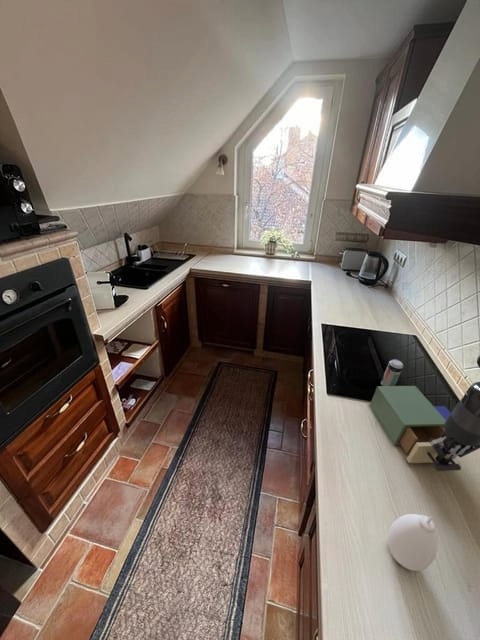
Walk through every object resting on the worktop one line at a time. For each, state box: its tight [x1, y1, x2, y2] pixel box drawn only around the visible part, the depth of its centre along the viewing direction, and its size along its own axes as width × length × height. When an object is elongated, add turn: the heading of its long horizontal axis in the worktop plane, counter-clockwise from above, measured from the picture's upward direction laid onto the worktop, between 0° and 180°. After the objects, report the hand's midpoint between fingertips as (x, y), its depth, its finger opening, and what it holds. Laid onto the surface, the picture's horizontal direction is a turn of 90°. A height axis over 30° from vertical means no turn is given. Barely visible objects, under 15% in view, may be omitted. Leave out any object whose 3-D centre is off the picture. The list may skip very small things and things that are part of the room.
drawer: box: [399, 426, 462, 472], centre depth 76 cm, size 20×13×8 cm, turn 2°
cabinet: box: [369, 385, 446, 446], centre depth 84 cm, size 16×14×10 cm
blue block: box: [433, 405, 452, 420], centre depth 88 cm, size 6×4×4 cm
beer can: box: [380, 358, 404, 386], centre depth 100 cm, size 5×5×12 cm
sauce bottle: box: [387, 513, 439, 572], centre depth 52 cm, size 8×8×18 cm
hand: (440, 462), depth 70 cm, fingers closed
